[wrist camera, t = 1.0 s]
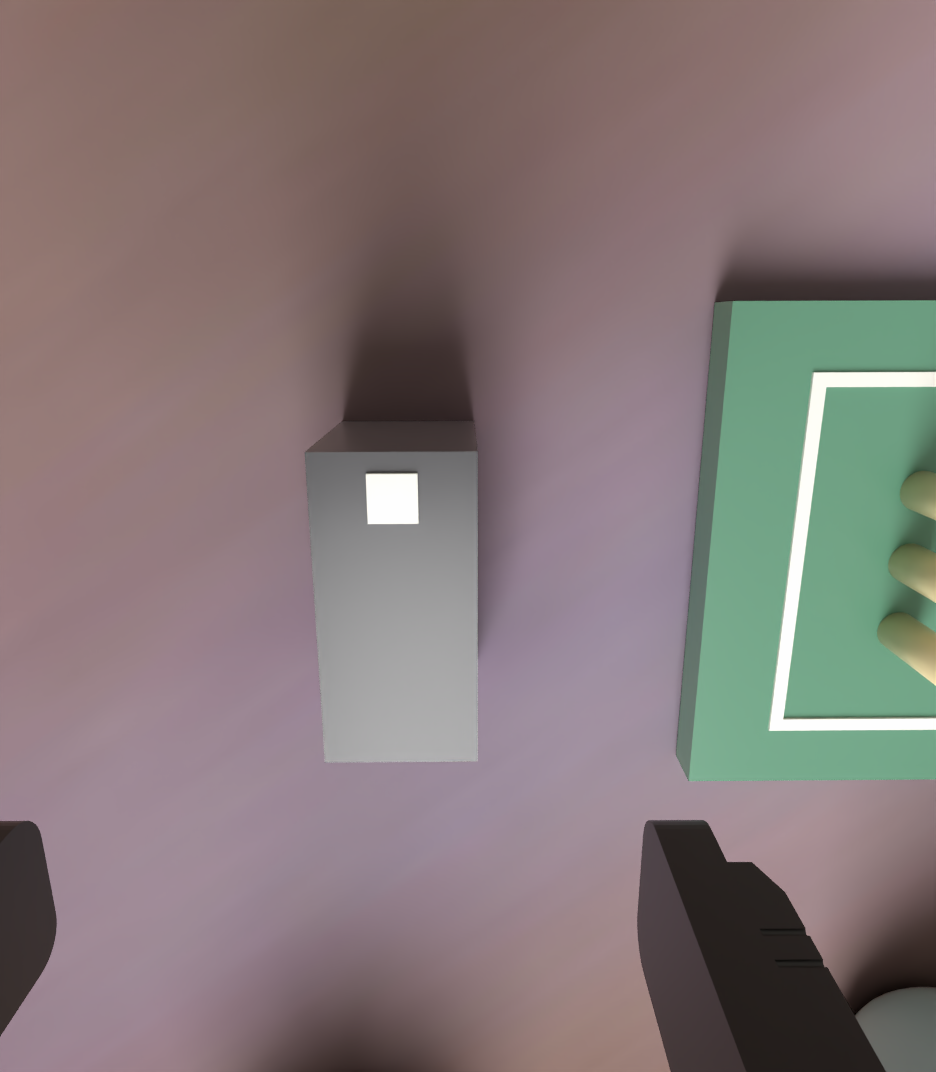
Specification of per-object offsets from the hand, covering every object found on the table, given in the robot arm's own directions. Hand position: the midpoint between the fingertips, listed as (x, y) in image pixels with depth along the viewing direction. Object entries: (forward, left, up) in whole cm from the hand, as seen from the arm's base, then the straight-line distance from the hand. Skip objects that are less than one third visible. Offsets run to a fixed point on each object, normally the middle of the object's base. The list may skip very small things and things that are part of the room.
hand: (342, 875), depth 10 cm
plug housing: (0, 0, -14) cm, 14 cm away
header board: (0, +15, -14) cm, 21 cm away
